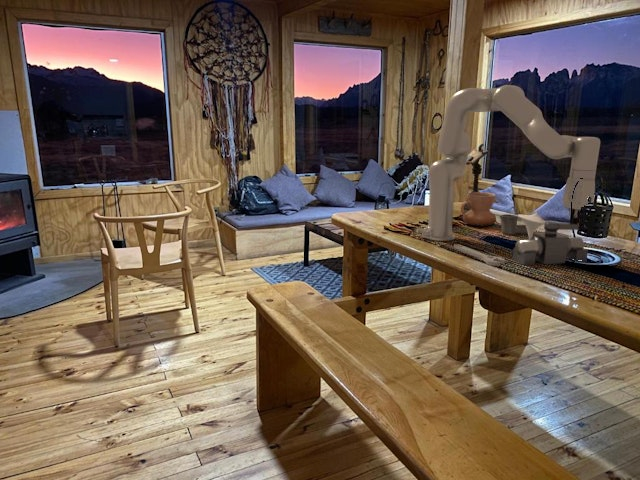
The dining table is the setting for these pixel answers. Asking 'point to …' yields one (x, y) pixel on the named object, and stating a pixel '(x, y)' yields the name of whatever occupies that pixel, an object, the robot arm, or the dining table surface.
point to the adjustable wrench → (481, 255)
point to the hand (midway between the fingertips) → (574, 228)
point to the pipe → (511, 225)
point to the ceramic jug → (479, 209)
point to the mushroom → (532, 222)
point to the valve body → (549, 248)
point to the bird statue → (475, 169)
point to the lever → (561, 226)
